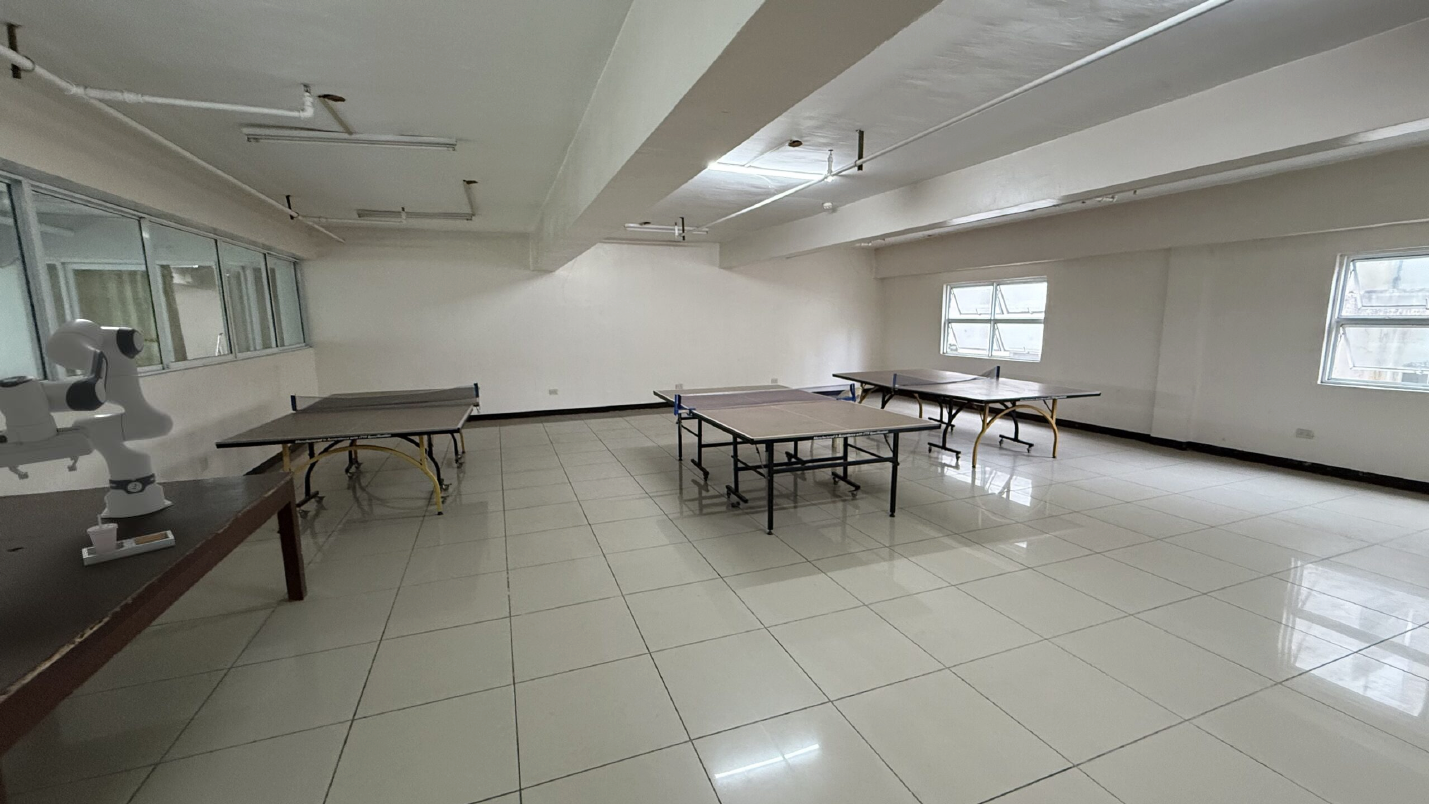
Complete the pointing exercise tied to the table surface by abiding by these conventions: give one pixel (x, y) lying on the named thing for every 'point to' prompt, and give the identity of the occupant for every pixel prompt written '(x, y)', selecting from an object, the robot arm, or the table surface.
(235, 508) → the table surface
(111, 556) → the cup holder
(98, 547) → the smoothie
